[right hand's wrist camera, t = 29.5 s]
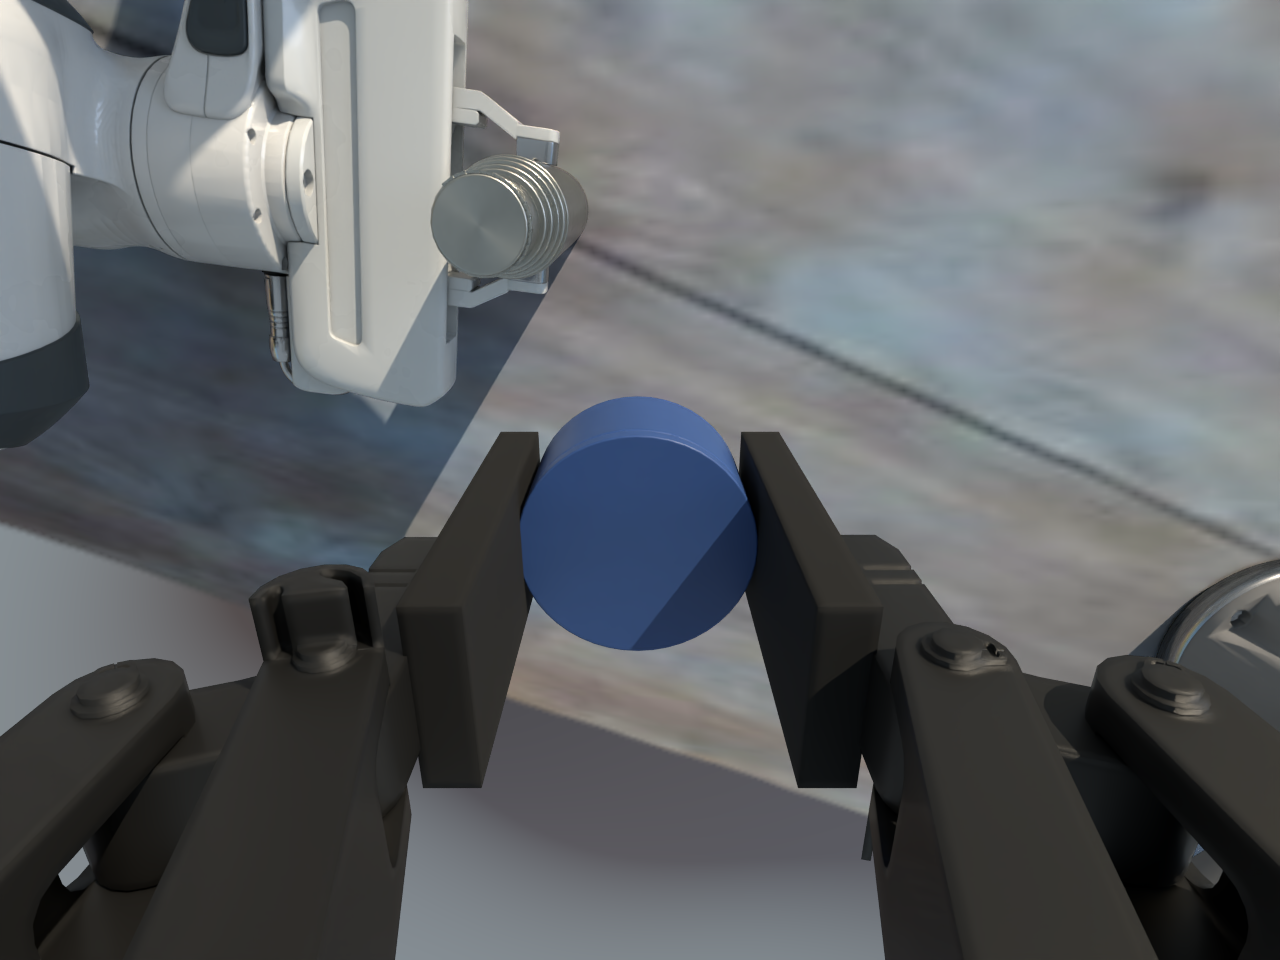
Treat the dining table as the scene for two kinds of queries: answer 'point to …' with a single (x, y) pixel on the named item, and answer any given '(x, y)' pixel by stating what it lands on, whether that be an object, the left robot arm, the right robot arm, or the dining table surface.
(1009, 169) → the dining table surface
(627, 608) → the cap
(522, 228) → the bottle
